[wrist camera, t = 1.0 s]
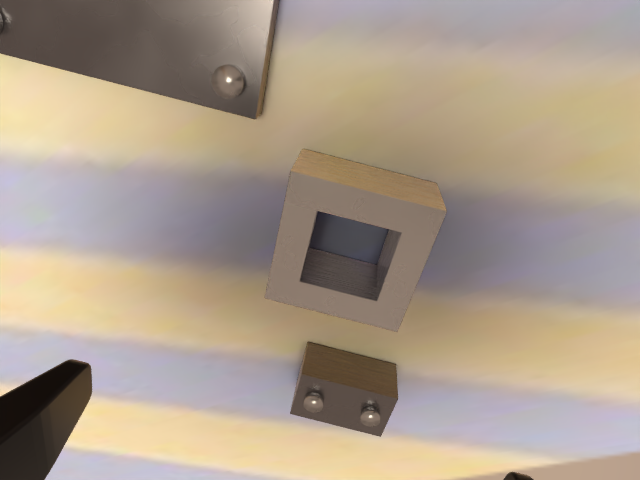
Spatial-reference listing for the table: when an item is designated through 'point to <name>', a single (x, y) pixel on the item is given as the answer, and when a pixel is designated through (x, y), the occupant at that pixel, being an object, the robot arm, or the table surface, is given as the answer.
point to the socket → (346, 273)
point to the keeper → (152, 45)
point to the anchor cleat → (345, 389)
